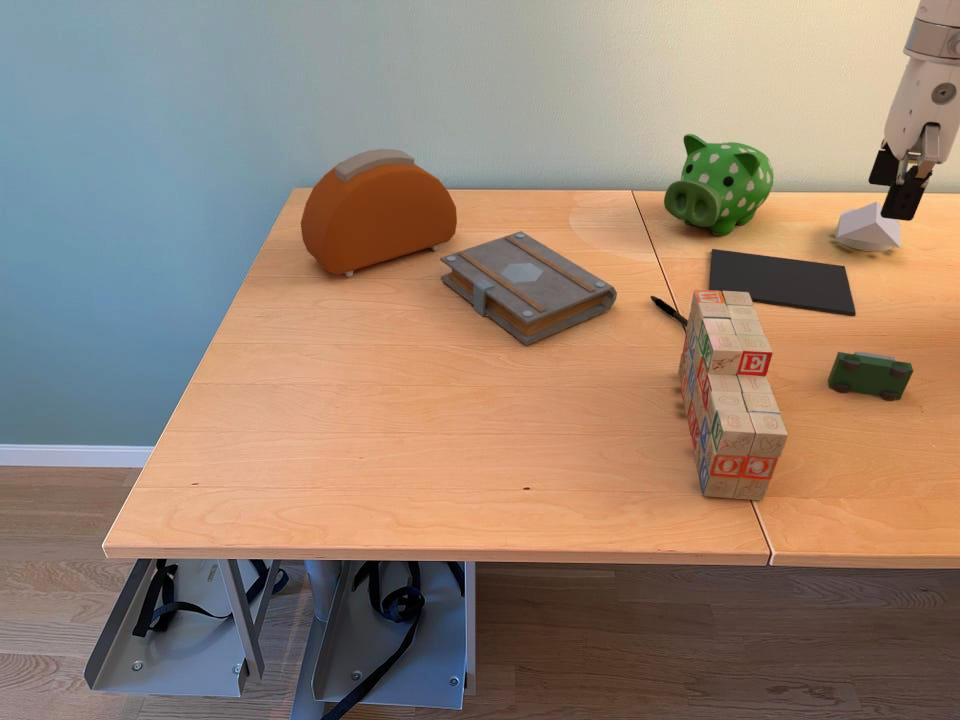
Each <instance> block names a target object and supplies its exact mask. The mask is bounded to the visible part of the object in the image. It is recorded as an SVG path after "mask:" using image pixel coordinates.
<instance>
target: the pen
mask: <svg viewBox="0 0 960 720" xmlns="http://www.w3.org/2000/svg"><path fill="white" fill-rule="evenodd" d="M650 300H651V301H652V303H654V304H655V306H657V307H658V308H659V309H660V310H661V311H663V312H664V313H665V314H666V315H668V316H670V318H673V319H675V320H676V321H677V322H678V323H680V324H681V325H682V326H684V327H685V328H687V324H688V319H687V318H686V317H684V316H683V315H681V314H680V313H679V312H678V310H677V309H675V308H674V307H672V306H671V305H670V304H668V303H667V302H665V301H664V300H663V299H661V298H659V297H657V296H654V295H650Z"/></svg>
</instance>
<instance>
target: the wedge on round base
mask: <svg viewBox="0 0 960 720" xmlns="http://www.w3.org/2000/svg"><path fill="white" fill-rule="evenodd" d="M882 207H883V205H881V204H880V202H878V201H875V202H874V201H873V202H872V203H869V204H867V205H864V206H861V207H859V208H852V209H851V208H850V209H847V210H844V211H842V212H841V213H840V217H839V219H838V222H837V225H836V228H835V231H834V237H835V239H836V240H837V241H838V242H840V243H841V244H842V245H844V246H846V247H848V248H851V249H855V250H859V251H864V252H875V253H877V252H879V253H880V252H886V251H889V250H890V249H892V248H899V249H901V248H902V236H901V223H900V221H899V220H897V219H889V218H883V217H881V214H880V212H881V210H882Z"/></svg>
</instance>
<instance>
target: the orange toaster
mask: <svg viewBox="0 0 960 720" xmlns="http://www.w3.org/2000/svg"><path fill="white" fill-rule="evenodd" d="M457 215H458V214H457V206H456V204H455V202H454V201H453V198H452V196H451V194H450V192H449V191H448V189H447V188H446V187H445V185H444V184H443V183H442V182H441V180H440V179H439V178H438V177H436V176H435V175H433V174H431V173H430V172H428V171H427V170H425V169H424V168H422V167H420V166H418V165H417V164H416V163H415V158H414V157H413V156H411V154H408V153H406V152H405V151H403V150H400V149H399V150H398V149H392V148H385V149H384V148H380V149H372V150H367V151H363V152H360V153H357V154H355V155H353V156H350V157H348V158H347V159H345V160H343V161H340V162H339V163H337V164H336V165H335V166H333V168H331V169H330V170H329V171H327V172H326V173H325V174H324V175H323V176H322V177H321V178H320V180H319V181H318V182H317V183H316V184H315V185H314V186H313V188H312V190H311V192H310V194H309V196H308V198H307V200H306V203H305V205H304V209H303V213H302V217H301V220H300V229H301V238H302V243H303V244H304V246H305V249H306V251H307V253H309V254H310V256H312V258H314V260H315V261H316V262H318V264H319V265H320V266H321V267H322V268H323V269H324V270H325V271H326V272H329V273H332V274H334V275H341V274H344V275H345V276H346V277H347V278H351V277H353V276H354V271H355V270H359V269H362V268H365V267H369V266H372V265H375V264H380V263H382V262H385V261H389V260H391V259H392V260H393V259H395V258H399V257H402V256H405V255H408V254H409V255H410V254H412V253H415V252H418V251H423V250H425V249H428V248H430V249H431V250H432V251H433V252H437V251H439V250H440V245H442V244H444V243H447V242H450V241H451V239H452V238H453V237H454V236H455V235H456V231H457V224H458V218H457Z"/></svg>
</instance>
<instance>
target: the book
mask: <svg viewBox="0 0 960 720" xmlns="http://www.w3.org/2000/svg"><path fill="white" fill-rule="evenodd" d="M439 261H440V262H442V263H444V264H445V265H446V266H447V267H449V268H450V269H451V272H449V273H446V274H442V275H440V280H441V281H442V282H443V283H445V284H446V285H448V286H449V287H450V288H451V289H453V290H454V291H455V292H456V293H458V294H459V295H460V296H462V297H463V298H465V299H466V300H467V301H468V302H469V303H471V304H472V305H473V310H474V311H476V312H477V313H478V314H480V315H481V316H482V317H484V318H485V317H488V318H490V319H492V320H493V321H494V322H495V323H497V324H498V325H499V326H500V327H502V328H503V329H504V330H506V331H507V332H508V333H510V334H511V335H512V336H514V337H515V338H516V339H517V340H519V341H520V342H521V343H522V344H524V345H525V346H528V345H530V344H533V343H535V342H537V341H540V340H542V339H545V338H546V337H549V336H552V335H554V334H556V333H558V332H561V331H563V330H565V329H568V328H570V327H573V326H575V325H578V324H580V323H582V322H584V321H587V320H589V319H591V318H594V317H596V316H598V315H600V314H603V313H605V312H608V311H610V310H611V309H612V307H613V306H614V304H615V302H616V300H617V296H618V292H617V290H616V288H615V287H614V286H613V285H611V284H610V283H608V282H606V281H605V280H603V279H601V278H599V277H598V276H596V275H595V274H593V273H591V272H590V271H588V270H587V269H585V268H583V267H581V266H580V265H578V264H576V263H575V262H573V261H571V260H570V259H568V258H566V257H565V256H563V255H562V254H560V253H558V252H557V251H555V250H553V249H551V248H550V247H549V246H546V245H545V244H544V243H542V242H540V241H538V240H536V239H535V238H533V237H532V236H530V235H528V234H527V233H525V232H523V231H522V230H521V231H517V232H515V233H511V234H508V235H505V236H501V237H499V238H497V239H493V240H491V241H490V240H489V241H486V242H484V243H480V244H477V245H475V246H472V247H471V246H470V247H469V248H466V249H463V250H460V251H457V252H453V253H450V254H448V255H444V256H441V257H440V258H439Z"/></svg>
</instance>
